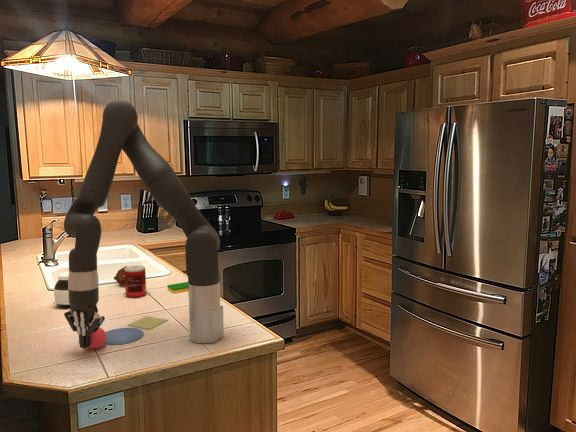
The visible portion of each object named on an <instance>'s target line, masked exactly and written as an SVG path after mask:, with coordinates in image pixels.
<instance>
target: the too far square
mask: <svg viewBox="0 0 576 432" xmlns="http://www.w3.org/2000/svg"><path fill="white" fill-rule="evenodd" d="M167 321H169V320H168V319H166V318H165V319H164V318H159V317H153V316H148V315H146V316H143V317H142V318H140V319H137V320H134V321H133V322H131V323H128V324H127V326H128V327H131V328H138V329H145V330H149V331H150V330H153V329H154V328H156V327H158V326H160V325H162V324H163V323H166V322H167Z"/></svg>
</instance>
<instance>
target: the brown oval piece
mask: <svg viewBox="0 0 576 432" xmlns="http://www.w3.org/2000/svg"><path fill="white" fill-rule="evenodd" d="M126 267H129V265H128V266H127V265H125V266H123V267H122V268H120V269H119V270H117V272H116V274H115V275H114V276H113V280H115V281H116V282H117V284H118V285H120V286H124V287H125V268H126Z"/></svg>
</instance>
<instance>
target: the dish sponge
mask: <svg viewBox="0 0 576 432" xmlns="http://www.w3.org/2000/svg"><path fill="white" fill-rule="evenodd" d="M166 288H167V291H169V292H170V293H171V294H181V293H186V292H189V291H188V281H185V282H179V283H173V284H172V283H171V284H167V287H166Z"/></svg>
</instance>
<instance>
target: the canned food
mask: <svg viewBox="0 0 576 432" xmlns="http://www.w3.org/2000/svg"><path fill="white" fill-rule="evenodd" d="M146 274H147V273H146V266H144V265H138V264H137V265H128V267H126V268H125V286H124V287H125V295H126V297H127V298H129V299H139V298H143V297H145V296H146V295H147V281H146V279H147V276H146Z"/></svg>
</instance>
